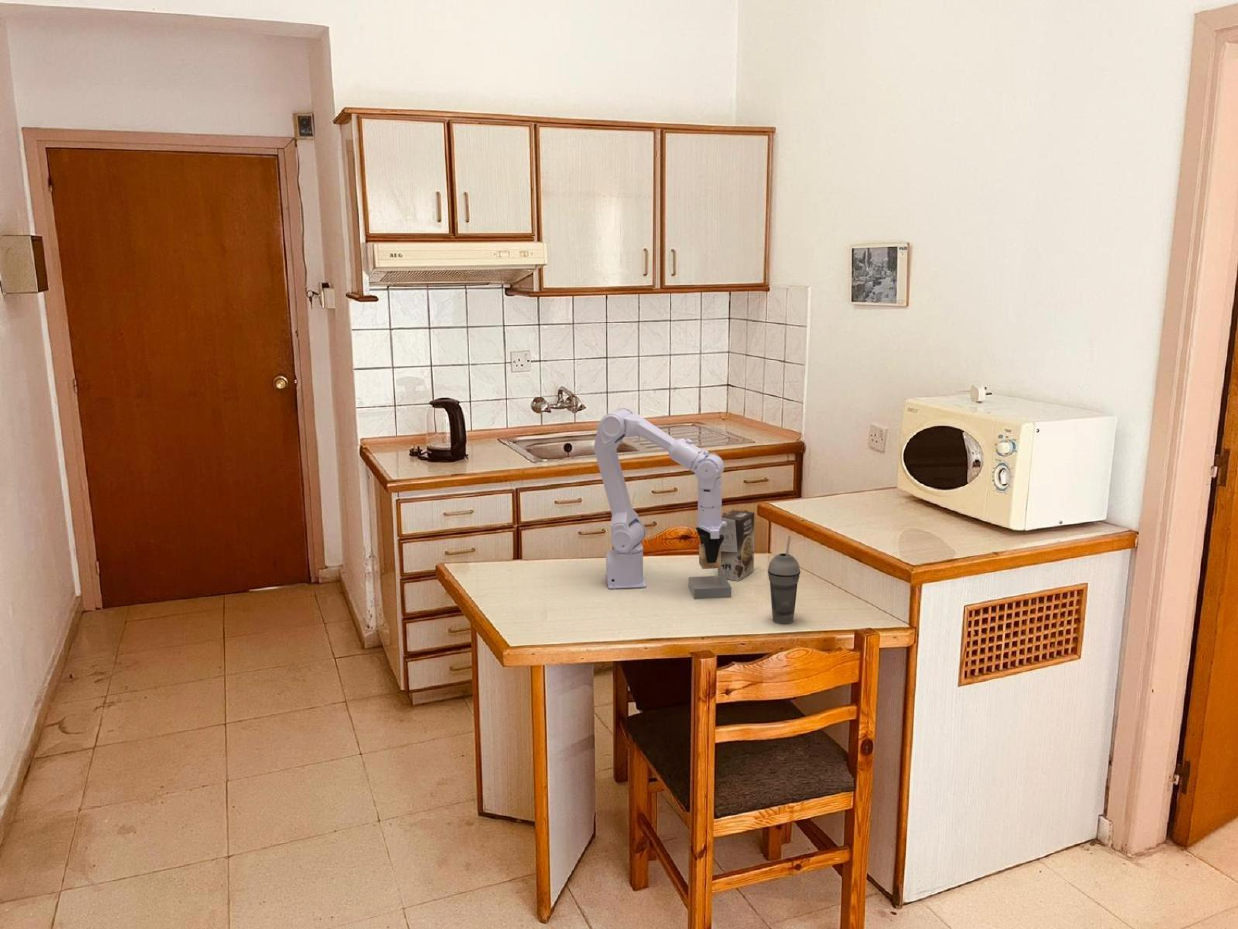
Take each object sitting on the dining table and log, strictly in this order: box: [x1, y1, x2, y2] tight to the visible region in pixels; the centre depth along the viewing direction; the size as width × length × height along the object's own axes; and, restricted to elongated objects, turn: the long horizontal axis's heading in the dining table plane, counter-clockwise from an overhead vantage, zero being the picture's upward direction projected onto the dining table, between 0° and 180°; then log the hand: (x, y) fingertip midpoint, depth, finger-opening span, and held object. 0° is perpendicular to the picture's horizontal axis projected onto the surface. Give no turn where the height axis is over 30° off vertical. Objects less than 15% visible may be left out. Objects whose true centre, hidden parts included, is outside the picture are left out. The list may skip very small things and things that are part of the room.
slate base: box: [688, 575, 732, 600], centre depth 238 cm, size 9×9×2 cm
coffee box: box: [717, 509, 755, 582], centre depth 248 cm, size 9×6×16 cm
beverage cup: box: [767, 535, 801, 625], centre depth 216 cm, size 7×7×20 cm
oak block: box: [698, 543, 721, 570], centre depth 236 cm, size 4×4×5 cm
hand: (709, 559), depth 236 cm, fingers closed on oak block, 4 cm apart
